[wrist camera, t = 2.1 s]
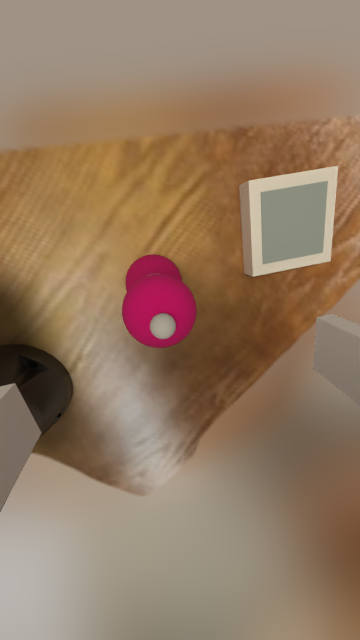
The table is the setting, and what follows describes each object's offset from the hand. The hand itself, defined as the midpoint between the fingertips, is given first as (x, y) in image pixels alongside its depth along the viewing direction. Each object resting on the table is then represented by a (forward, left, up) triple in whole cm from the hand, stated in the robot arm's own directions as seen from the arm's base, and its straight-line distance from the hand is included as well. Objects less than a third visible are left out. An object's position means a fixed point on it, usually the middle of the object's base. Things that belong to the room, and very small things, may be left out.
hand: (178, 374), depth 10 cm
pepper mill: (0, 0, -25) cm, 25 cm away
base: (+20, +4, -25) cm, 32 cm away
